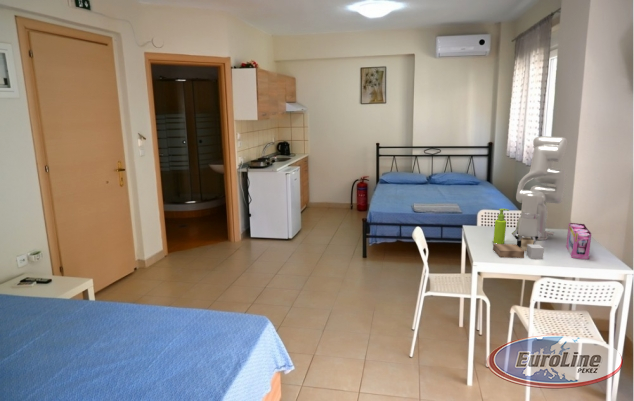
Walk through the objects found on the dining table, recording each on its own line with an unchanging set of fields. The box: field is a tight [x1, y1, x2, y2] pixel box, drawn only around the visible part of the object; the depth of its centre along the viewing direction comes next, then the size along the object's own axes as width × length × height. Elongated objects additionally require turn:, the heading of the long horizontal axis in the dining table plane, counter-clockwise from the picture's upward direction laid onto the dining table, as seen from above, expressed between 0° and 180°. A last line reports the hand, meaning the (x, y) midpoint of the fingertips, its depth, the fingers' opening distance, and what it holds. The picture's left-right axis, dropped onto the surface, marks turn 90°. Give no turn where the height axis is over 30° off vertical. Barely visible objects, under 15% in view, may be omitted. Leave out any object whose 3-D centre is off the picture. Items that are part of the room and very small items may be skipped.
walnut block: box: [492, 243, 526, 259], centre depth 233 cm, size 12×12×4 cm
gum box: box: [565, 222, 592, 260], centre depth 235 cm, size 24×8×14 cm, turn 158°
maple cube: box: [520, 236, 535, 252], centre depth 241 cm, size 6×6×6 cm
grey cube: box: [525, 244, 545, 260], centre depth 228 cm, size 6×6×6 cm
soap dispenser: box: [492, 208, 510, 244], centre depth 251 cm, size 6×7×20 cm
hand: (525, 247), depth 241 cm, fingers closed on maple cube, 6 cm apart
